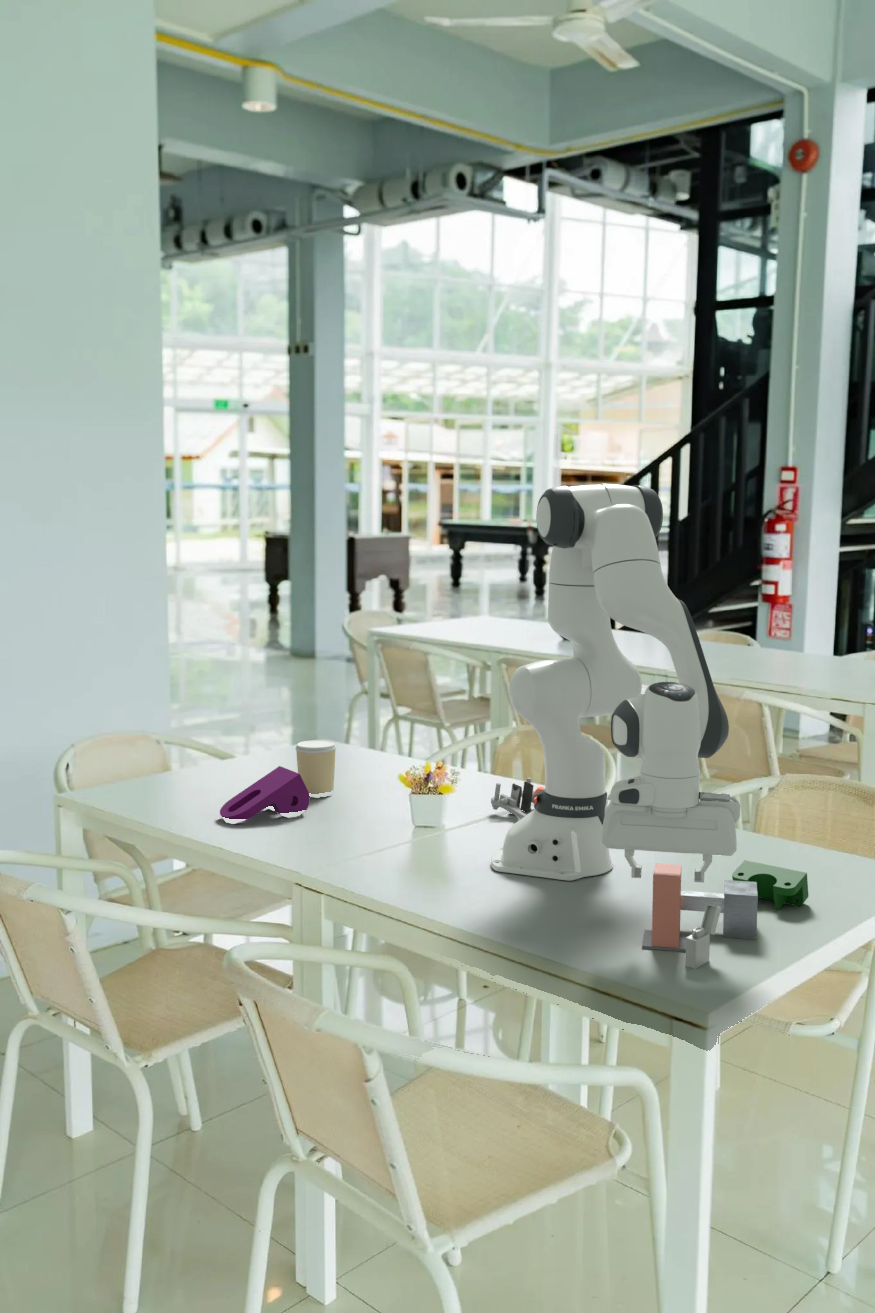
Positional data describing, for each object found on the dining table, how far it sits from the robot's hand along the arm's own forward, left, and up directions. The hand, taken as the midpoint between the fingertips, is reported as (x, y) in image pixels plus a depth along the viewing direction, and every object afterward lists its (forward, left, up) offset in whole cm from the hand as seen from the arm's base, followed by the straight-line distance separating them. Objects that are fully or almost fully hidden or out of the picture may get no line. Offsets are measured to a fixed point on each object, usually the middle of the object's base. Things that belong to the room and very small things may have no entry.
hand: (667, 879), depth 182 cm
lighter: (+6, -7, -10) cm, 13 cm away
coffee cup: (-83, +77, -10) cm, 114 cm away
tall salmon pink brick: (0, 0, -10) cm, 10 cm away
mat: (0, 0, -10) cm, 10 cm away
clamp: (+16, +22, -10) cm, 29 cm away
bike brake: (-30, +68, -10) cm, 75 cm away
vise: (+5, +7, -10) cm, 14 cm away
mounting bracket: (-89, +56, -10) cm, 105 cm away
